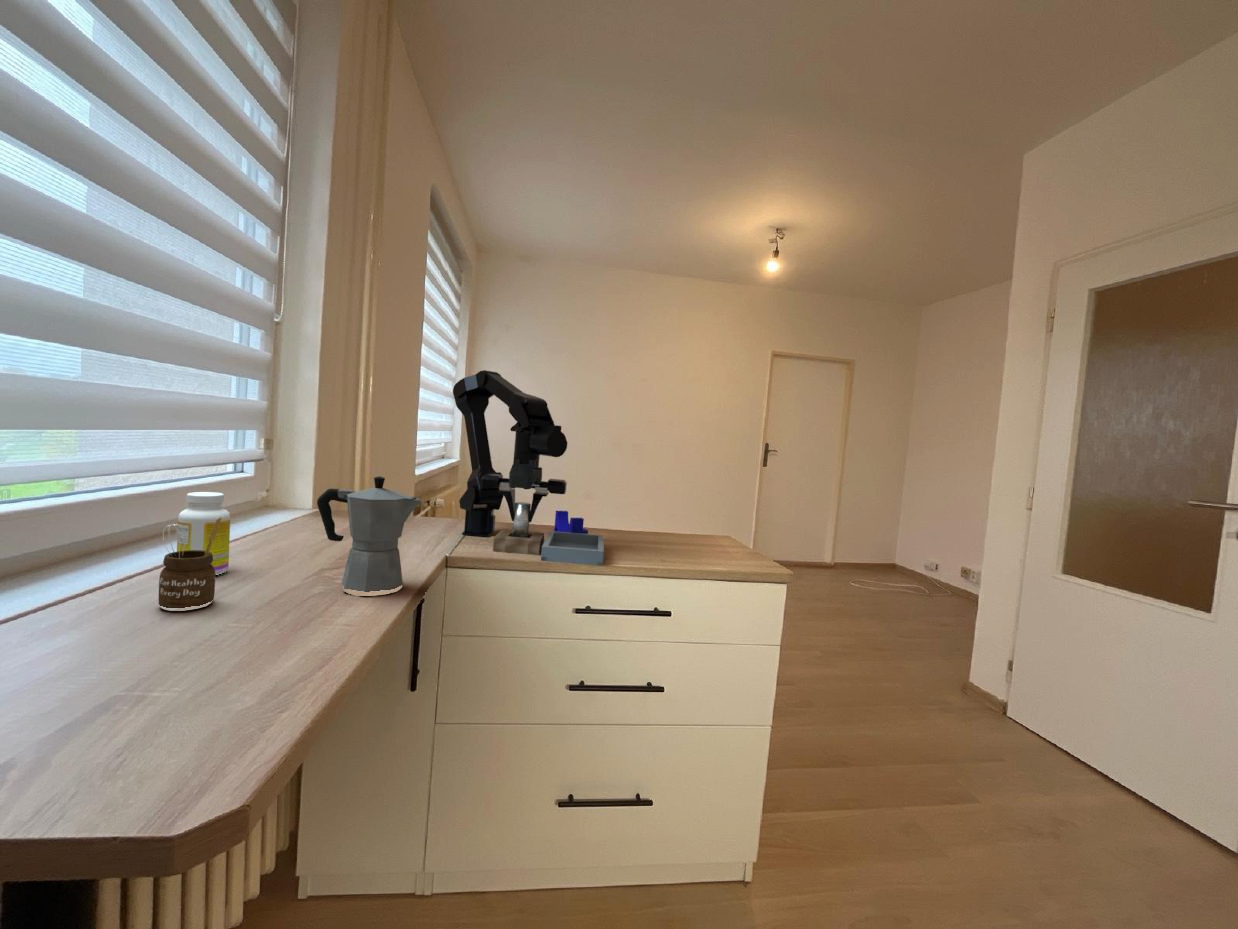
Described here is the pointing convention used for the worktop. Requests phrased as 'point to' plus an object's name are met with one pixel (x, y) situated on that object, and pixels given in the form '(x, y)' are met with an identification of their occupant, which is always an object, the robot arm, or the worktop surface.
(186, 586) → the utensil holder
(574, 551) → the tray
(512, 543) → the socket block
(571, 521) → the cable clip
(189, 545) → the supplement bottle
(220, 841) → the worktop surface
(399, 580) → the coffeepot
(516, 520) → the silver metal cylinder
